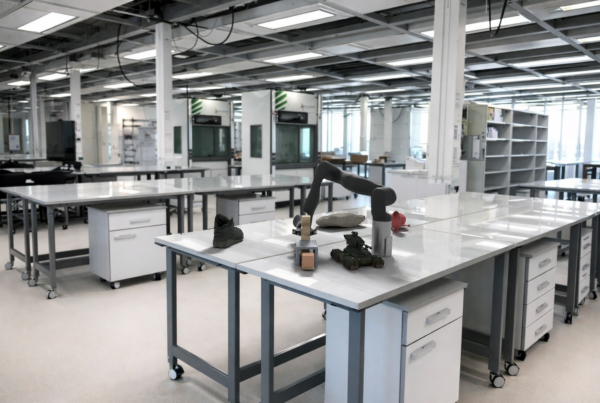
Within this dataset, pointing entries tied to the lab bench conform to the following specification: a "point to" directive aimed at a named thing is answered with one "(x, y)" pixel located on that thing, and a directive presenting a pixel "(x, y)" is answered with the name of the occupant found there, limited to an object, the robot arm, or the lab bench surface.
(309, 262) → the block
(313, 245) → the tunnel
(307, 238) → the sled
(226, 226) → the sneaker
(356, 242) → the toy tank
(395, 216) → the toy
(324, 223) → the stone
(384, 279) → the lab bench surface
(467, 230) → the lab bench surface
